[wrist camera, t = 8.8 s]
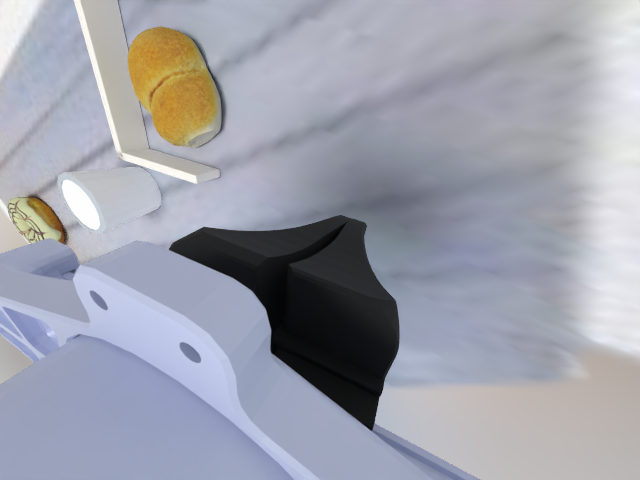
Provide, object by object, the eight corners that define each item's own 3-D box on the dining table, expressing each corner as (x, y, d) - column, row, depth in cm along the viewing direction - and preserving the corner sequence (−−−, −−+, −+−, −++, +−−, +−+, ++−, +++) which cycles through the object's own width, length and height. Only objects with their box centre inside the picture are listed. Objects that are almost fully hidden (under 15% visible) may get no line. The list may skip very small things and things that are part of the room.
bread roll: (185, 9, 20) (135, -12, 16) (239, 121, 22) (205, 123, 19) (139, 68, 24) (92, 61, 20) (189, 157, 26) (154, 163, 23)
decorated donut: (75, 233, 45) (49, 241, 42) (64, 251, 51) (40, 260, 48) (33, 184, 43) (2, 189, 40) (26, 209, 49) (-1, 215, 46)
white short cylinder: (150, 220, 34) (92, 243, 28) (118, 175, 32) (49, 189, 26) (173, 202, 30) (113, 224, 24) (138, 150, 29) (64, 160, 23)
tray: (220, 177, 25) (197, 184, 23) (145, 154, 28) (118, 158, 26) (205, -17, 18) (169, -38, 15) (106, -21, 21) (62, -39, 18)
